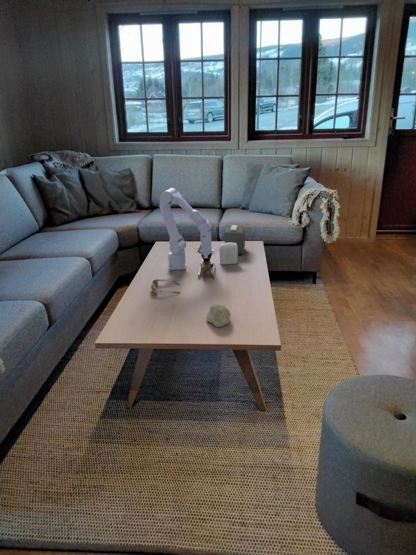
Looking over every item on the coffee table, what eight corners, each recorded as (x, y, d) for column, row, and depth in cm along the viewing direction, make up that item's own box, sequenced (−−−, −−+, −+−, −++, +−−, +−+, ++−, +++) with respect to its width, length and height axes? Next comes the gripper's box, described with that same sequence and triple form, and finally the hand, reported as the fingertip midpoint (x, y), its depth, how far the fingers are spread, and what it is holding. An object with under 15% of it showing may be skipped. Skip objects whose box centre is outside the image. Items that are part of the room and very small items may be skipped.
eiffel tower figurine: (214, 255, 252) (213, 234, 247) (197, 257, 250) (196, 236, 245) (208, 247, 266) (207, 227, 261) (193, 249, 264) (191, 229, 259)
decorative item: (240, 314, 172) (222, 311, 166) (231, 332, 174) (213, 330, 168) (225, 300, 181) (207, 297, 175) (217, 317, 183) (199, 315, 177)
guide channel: (198, 278, 219) (198, 274, 219) (200, 266, 234) (199, 263, 233) (214, 277, 219) (214, 274, 218) (215, 266, 234) (215, 263, 233)
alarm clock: (227, 247, 264) (226, 223, 258) (245, 247, 263) (245, 223, 256) (224, 255, 249) (224, 231, 243) (243, 256, 248) (243, 231, 242)
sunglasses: (151, 285, 213) (151, 276, 212) (180, 287, 215) (181, 278, 213) (150, 297, 200) (150, 287, 199) (181, 298, 202) (182, 289, 200)
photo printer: (236, 261, 240) (236, 240, 235) (238, 263, 236) (238, 243, 232) (219, 262, 239) (218, 242, 234) (220, 265, 235) (220, 244, 230)
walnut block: (202, 277, 220) (201, 267, 218) (202, 271, 227) (202, 261, 225) (210, 277, 220) (210, 267, 217) (211, 271, 227) (210, 261, 225)
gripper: (213, 246, 216) (213, 270, 221) (213, 238, 229) (214, 261, 235) (199, 247, 216) (200, 271, 222) (201, 238, 230) (202, 261, 235)
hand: (207, 266), depth 228 cm, fingers closed
